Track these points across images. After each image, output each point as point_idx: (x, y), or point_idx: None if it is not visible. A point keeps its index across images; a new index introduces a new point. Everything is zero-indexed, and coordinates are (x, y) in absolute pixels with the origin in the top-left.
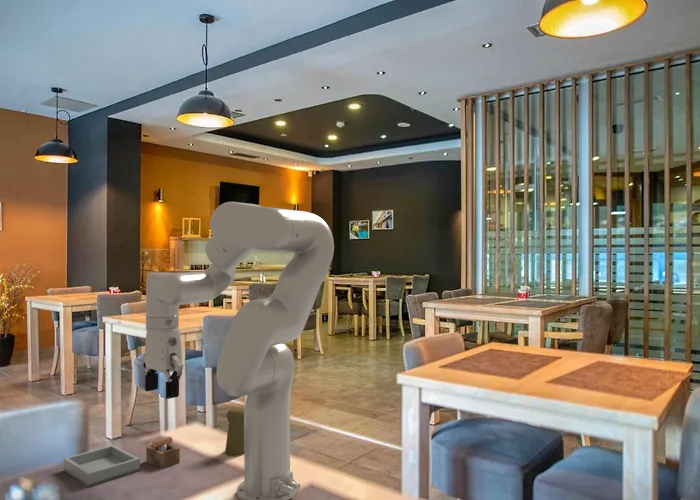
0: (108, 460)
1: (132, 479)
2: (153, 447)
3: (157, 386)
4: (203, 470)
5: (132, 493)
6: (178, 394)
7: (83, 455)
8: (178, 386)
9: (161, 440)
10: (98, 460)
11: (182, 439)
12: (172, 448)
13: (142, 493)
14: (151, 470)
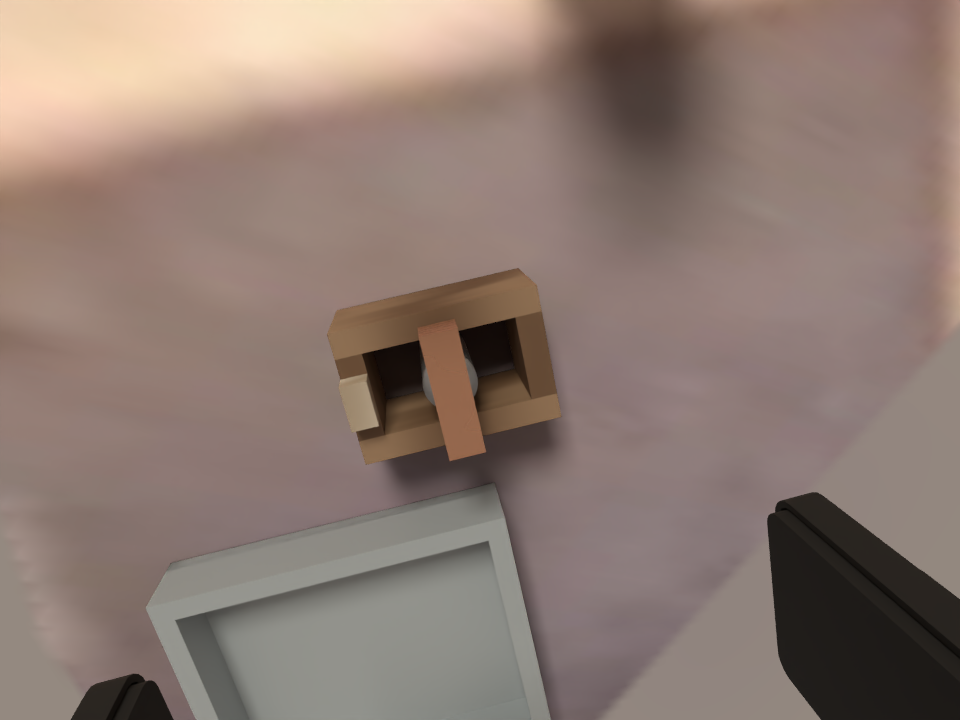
0: (273, 606)
1: (583, 531)
2: (409, 428)
3: (141, 717)
4: (724, 187)
5: (737, 556)
6: (827, 507)
7: None
8: (935, 593)
9: (470, 410)
10: (239, 647)
11: (42, 88)
12: (491, 320)
13: None
14: (528, 431)
